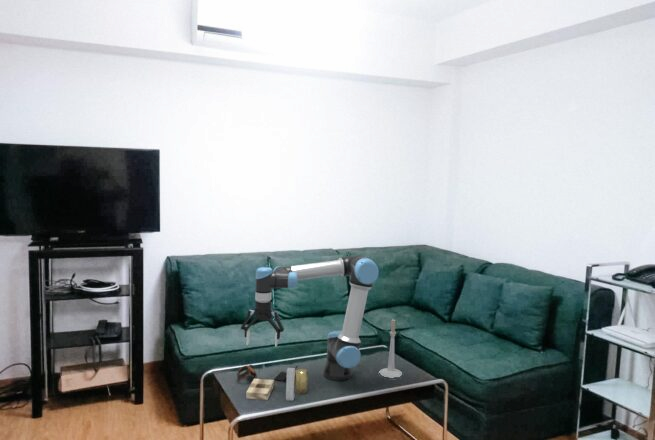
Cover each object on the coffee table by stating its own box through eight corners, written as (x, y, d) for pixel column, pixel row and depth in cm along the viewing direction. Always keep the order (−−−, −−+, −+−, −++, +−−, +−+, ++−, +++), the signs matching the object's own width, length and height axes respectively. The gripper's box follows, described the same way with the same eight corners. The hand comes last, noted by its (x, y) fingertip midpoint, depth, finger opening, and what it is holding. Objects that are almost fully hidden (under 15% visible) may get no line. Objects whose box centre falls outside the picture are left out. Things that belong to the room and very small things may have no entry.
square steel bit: (294, 397, 234) (295, 368, 233) (293, 400, 230) (294, 371, 229) (287, 397, 234) (287, 367, 233) (285, 400, 231) (286, 370, 230)
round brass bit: (307, 389, 243) (308, 369, 243) (306, 394, 238) (306, 373, 237) (296, 388, 244) (297, 368, 243) (294, 393, 238) (295, 372, 238)
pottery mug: (257, 385, 247) (249, 372, 245) (240, 391, 249) (232, 378, 247) (261, 370, 259) (254, 357, 256) (245, 376, 261) (238, 364, 258)
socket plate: (273, 386, 246) (274, 380, 246) (267, 400, 230) (267, 393, 230) (253, 384, 247) (254, 378, 247) (246, 398, 231) (246, 392, 231)
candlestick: (373, 373, 267) (376, 318, 265) (389, 368, 275) (392, 314, 273) (392, 381, 257) (394, 323, 255) (408, 375, 266) (410, 319, 263)
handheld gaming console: (277, 369, 263) (288, 357, 261) (288, 378, 263) (299, 365, 261) (271, 381, 252) (283, 368, 249) (283, 390, 252) (295, 377, 250)
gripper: (290, 300, 239) (289, 343, 240) (239, 297, 241) (238, 340, 242) (288, 304, 231) (286, 349, 233) (235, 301, 233) (234, 345, 235)
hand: (262, 344), depth 238 cm, fingers open, 13 cm apart
